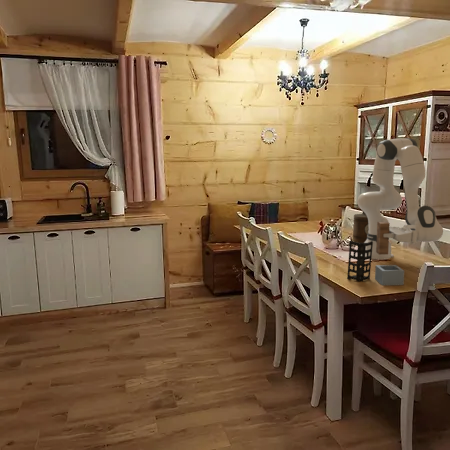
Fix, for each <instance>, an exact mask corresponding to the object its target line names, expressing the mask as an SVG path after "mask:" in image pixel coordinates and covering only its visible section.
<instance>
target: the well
mask: <svg viewBox="0 0 450 450" xmlns="http://www.w3.org/2000/svg"><path fill="white" fill-rule="evenodd" d="M374 268H375V271H374V272H375V273H374V279H375V281H377V282H378V283H379V284H380V285H381V286H403V285H404V281H405V270H404V269H402V268H401V267H400V266H398V265H396V264H381V265H379V264H378V265H377V264H375V267H374Z"/></svg>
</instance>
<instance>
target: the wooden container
mask: <svg viewBox="0 0 450 450" xmlns="http://www.w3.org/2000/svg"><path fill="white" fill-rule="evenodd" d="M361 211H362V213H356V214H354V215H353V227H352V241H353V240H354V241H353V242H357V243H364V242H365V241H366V240H367V235H368V233H369V223H368V217H367V215H366V213H365V212H364V211H363V210H361Z"/></svg>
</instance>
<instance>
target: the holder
mask: <svg viewBox="0 0 450 450" xmlns="http://www.w3.org/2000/svg"><path fill="white" fill-rule="evenodd" d="M369 245H371V249H369V250H365V249H366V246H369ZM352 246H356V247H357V249H354V248H352ZM372 247H373V241H371V242H368V243H359V242H355V241H353V240H349V248H348V249H349V251H348V264H347V276H346V277H347V280H349V279H350V280H353V281H356V282H361V281H362V282H364V281H366V280H370V278H371V268H372V259H371V258H372ZM352 252H353V255H352ZM369 252H370V256H368V255H369ZM365 253H367V257H365ZM361 254H362V256H361ZM356 255H357V256H356ZM352 260H356V263H354V262H352ZM366 260H369V262H367V263H366ZM351 266H352V268H351ZM351 273H353V274H354V273H355V274H356V275H355V274H354V275H350V274H351ZM366 273H367V274H368V275H367V276H366V275H365V274H366Z"/></svg>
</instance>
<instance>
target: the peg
mask: <svg viewBox="0 0 450 450" xmlns="http://www.w3.org/2000/svg"><path fill="white" fill-rule="evenodd" d="M389 227H391V226H390V222H389V223H388V222H377V244H376V253H378V254H379V255H381V254H388V247H389V242H390V238H388V237H383V233H387V234H389Z"/></svg>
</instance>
